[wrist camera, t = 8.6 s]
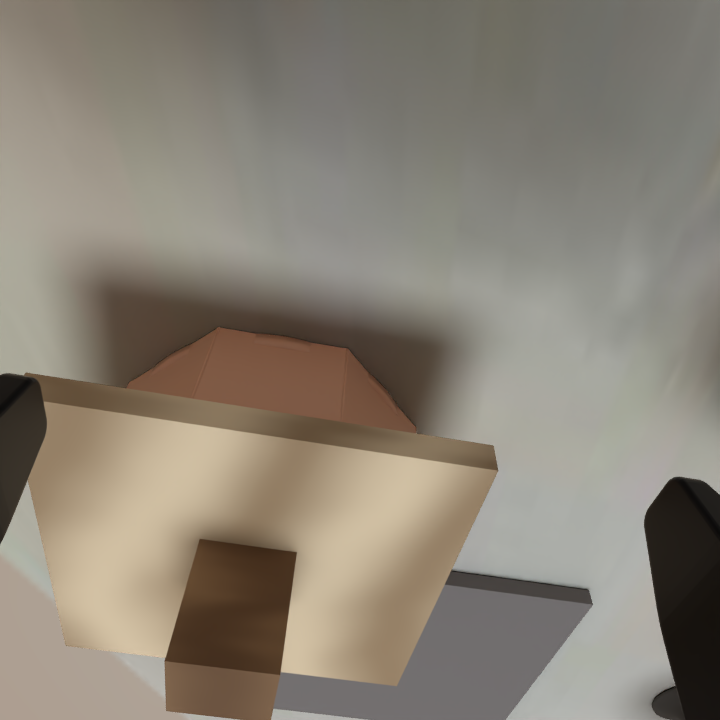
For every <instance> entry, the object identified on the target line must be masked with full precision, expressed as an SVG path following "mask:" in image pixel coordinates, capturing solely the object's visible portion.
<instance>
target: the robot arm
mask: <svg viewBox="0 0 720 720" xmlns="http://www.w3.org/2000/svg"><path fill="white" fill-rule="evenodd" d="M46 431H47V417H46V412H45V407H44V401H43V396H42V391H41V386H40V383H39V381H38V380H37V379H36V378H34V377H30V376H24V375H17V374H10V373H6V374H2V375H0V544H1V542H2V540H3V538H4V536H5V533H6V531H7V529H8V527H9V524H10V522H11V520H12V517H13V515H14V512H15V510H16V507H17V505H18V502H19V500H20V497H21V495H22V493H23V490H24V488H25V485H26V483H27V480H28V478H29V475H30V473H31V470H32V468H33V466H34V463H35V461H36V458H37V456H38V453H39V451H40V448H41V446H42V443H43V441H44V438H45V435H46ZM644 528H645V535H646V541H647V548H648V554H649V561H650V567H651V574H652V580H653V587H654V593H655V599H656V606H657V612H658V617H659V622H660V627H661V631H662V635H663V640H664V644H665V647H666V651H667V655H668V659H669V663H670V666H671V670H672V674H673V678H674V681H675V685H676V689H677V693H678V697H679V700H680V704H681V708H682V712H683V715H684V719H685V720H720V495H719V494H718V493H717V492H716V491H715V490H714V489H712V488H711V487H710V486H709V485H708V484H707V483H705V482H703V481H701V480H697V479H691V478H684V477H674V478H672V479H670V480H669V481H668V482H667V484H666V485H665V486H664V488H663V489H662V490H661V492H660V493H659V495H658V496H657V497H656V499H655V500H654V501H653V503H652V504H651V505H650V507H649V508H648V510H647V512H646V515H645V519H644Z"/></svg>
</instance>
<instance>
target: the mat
mask: <svg viewBox="0 0 720 720" xmlns="http://www.w3.org/2000/svg"><path fill="white" fill-rule="evenodd" d="M592 605H593V603H592V600H591V596H590V593H589V590H583V589H576V588H569V587H561V586H554V585H547V584H540V583H532V582H525V581H518V580H511V579H503V578H496V577H489V576H482V575H474V574H467V573H460V572H452V571H451V572H450V574H449V576H448V578H447V581H446V583H445V585H444V587H443V589H442V591H441V593H440V595H439V597H438V600H437V602H436V604H435V606H434V608H433V610H432V612H431V614H430V617H429V619H428V621H427V623H426V625H425V627H424V629H423V631H422V634H421V636H420V638H419V640H418V642H417V644H416V646H415V648H414V651H413V653H412V655H411V657H410V659H409V661H408V663H407V665H406V668H405V670H404V672H403V674H402V676H401V678H400V680H399V682H398V684H397V686H391V685H383V684H375V683H367V682H359V681H350V680H342V679H334V678H326V677H318V676H309V675H301V674H293V673H285V672H281V673H280V679H279V683H278V688H277V693H276V698H275V702H274V707H273V709H282V710H291V711H299V712H308V713H316V714H325V715H334V716H342V717H351V718H359V719H368V720H506V718H507V717H508V716H509V714H510V713H511V712H512V710H513V709H514V708H515V706H516V705H517V704H518V703H519V701H520V700H521V699H522V697H523V696H524V695H525V693H526V692H527V691H528V689H529V688H530V687H531V685H532V684H533V683H534V682H535V680H536V679H537V678H538V676H539V675H540V674H541V672H542V671H543V670H544V668H545V667H546V666H547V664H548V663H549V662H550V660H551V659H552V658H553V657H554V655H555V654H556V653H557V651H558V650H559V649H560V647H561V646H562V645H563V643H564V642H565V641H566V639H567V638H568V637H569V636H570V634H571V633H572V632H573V630H574V629H575V628H576V626H577V625H578V624H579V622H580V621H581V620H582V618H583V617H584V616H585V615H586V613H587V612H588V611H589V609H590V608H591V607H592Z"/></svg>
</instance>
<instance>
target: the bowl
mask: <svg viewBox="0 0 720 720" xmlns="http://www.w3.org/2000/svg"><path fill="white" fill-rule="evenodd" d="M127 388H128V389H134V390H140V391H147V392H153V393H160V394H166V395H172V396H179V397H185V398H192V399H198V400H205V401H211V402H217V403H224V404H230V405H237V406H243V407H249V408H256V409H262V410H269V411H275V412H281V413H288V414H294V415H301V416H307V417H314V418H320V419H326V420H333V421H339V422H346V423H352V424H358V425H365V426H371V427H378V428H384V429H390V430H397V431H403V432H410V433H416V426H414V425H413V424H412V422H411V421H410V420H409V419H408V418H407V417H406V416H405V414H404V413H403V412H402V411H401V410H400V409H399V407H398V406H397V405H396V403H395V401H394V400H393V398H392V397H391V396H390V394H389V393H388V392H387V390H386V389H385V388H384V387H383V386H382V385H381V384H380V383H379V382H378V381H377V380H376V379H375V378H374V377H373V376H372V375H371V374H369V373H368V372H367V370H366V369H365V368H364V367H363V366H362V365H361V364H360V362H359V361H358V360H357V359H356V358H355V357H354V355H353V354H352V353H351V352H350V351H349V349H347V348H341V347H335V346H328V345H322V344H316V343H311V342H308V341H305V340H300V339H296V338H291V337H287V336H280V335H271V334H256V333H250V332H244V331H238V330H232V329H226V328H220V327H218V328H217V329H215V330H214V331H212V332H211V333H209V334H207V335H206V336H204V337H202V338H201V339H199V340H198V341H196V342H194V343H193V344H190V345H188V346H185V347H183V348H181V349H179V350H178V351H176V352H174V353H172V354H170V355H169V356H167V357H166V358H165V359H163V360H162V361H161V362H159V363H158V364H157V365H156V366H155V367H154V368H152V369H151V370H149V371H147V372H146V373H144V374H142V375H141V376H139V377H138V378H136V379H134V380H133V381H131V382H129V384H128V386H127Z"/></svg>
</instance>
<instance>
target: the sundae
mask: <svg viewBox="0 0 720 720" xmlns="http://www.w3.org/2000/svg"><path fill="white" fill-rule="evenodd" d="M652 708H653V710H654V712H655V713H656V714H657V715H659V716H660V717H663V718H665V719H670V720H685V719H684V715H683V712H682V708H681V704H680V700H679V697H678V693H677V689H676V687H674V688H671V689H669V690H667V691H664V692H663V693H661V694H660V695H658V696H657V697H656V698H655V700H654V702H653V704H652Z"/></svg>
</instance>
